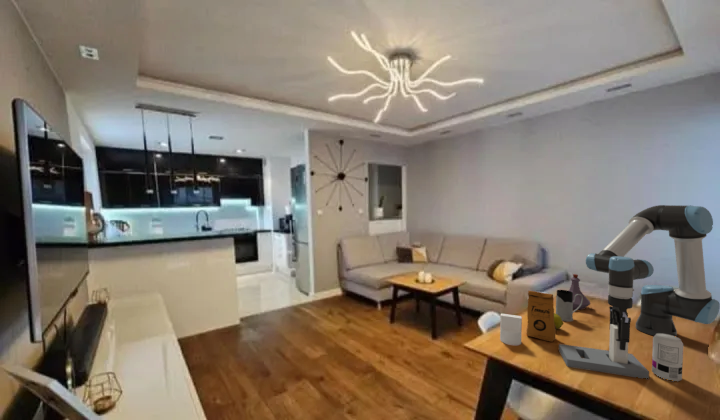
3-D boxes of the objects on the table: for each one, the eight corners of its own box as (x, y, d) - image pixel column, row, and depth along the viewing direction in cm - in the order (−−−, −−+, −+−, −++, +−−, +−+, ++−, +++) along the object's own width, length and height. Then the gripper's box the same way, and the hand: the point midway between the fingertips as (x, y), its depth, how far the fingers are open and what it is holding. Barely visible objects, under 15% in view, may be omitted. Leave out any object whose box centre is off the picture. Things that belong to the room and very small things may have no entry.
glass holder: (551, 315, 181) (552, 289, 180) (577, 315, 180) (577, 289, 179) (560, 321, 172) (561, 294, 171) (587, 321, 171) (588, 294, 171)
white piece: (520, 338, 151) (521, 314, 151) (521, 347, 143) (522, 320, 143) (500, 335, 155) (500, 311, 155) (499, 343, 147) (500, 317, 146)
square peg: (609, 357, 129) (610, 324, 129) (622, 359, 128) (623, 325, 127) (613, 363, 125) (614, 328, 125) (627, 365, 124) (628, 330, 123)
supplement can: (645, 370, 123) (647, 333, 123) (665, 369, 124) (666, 332, 123) (667, 383, 115) (669, 342, 115) (688, 381, 116) (690, 341, 115)
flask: (566, 311, 187) (567, 277, 186) (554, 301, 203) (554, 271, 202) (597, 312, 184) (598, 278, 184) (582, 303, 201) (583, 272, 200)
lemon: (566, 329, 161) (566, 314, 161) (559, 333, 157) (560, 317, 156) (543, 322, 170) (543, 308, 170) (536, 326, 165) (537, 311, 165)
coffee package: (553, 345, 145) (555, 297, 144) (524, 337, 153) (524, 292, 152) (557, 337, 153) (558, 292, 152) (529, 330, 161) (529, 287, 160)
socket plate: (631, 360, 131) (631, 353, 131) (648, 379, 118) (649, 371, 117) (558, 350, 140) (558, 343, 140) (567, 366, 127) (567, 359, 127)
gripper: (642, 304, 116) (640, 366, 117) (622, 290, 132) (620, 345, 133) (617, 302, 118) (615, 363, 119) (600, 289, 135) (599, 342, 136)
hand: (618, 353), depth 126 cm, fingers closed on square peg, 4 cm apart
